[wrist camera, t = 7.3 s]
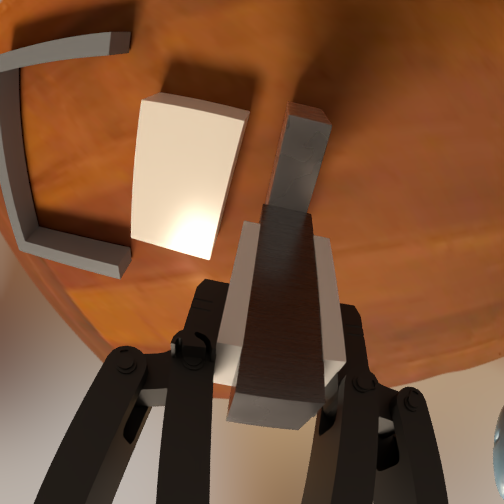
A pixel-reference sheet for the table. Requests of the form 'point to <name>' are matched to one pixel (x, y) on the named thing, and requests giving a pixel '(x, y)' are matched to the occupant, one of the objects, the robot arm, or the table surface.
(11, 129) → the frame
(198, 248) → the cream tile
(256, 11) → the table surface
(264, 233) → the grey inverted t block
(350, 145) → the table surface
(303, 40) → the table surface
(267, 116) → the table surface
